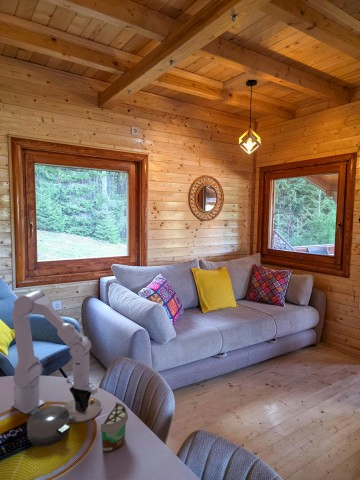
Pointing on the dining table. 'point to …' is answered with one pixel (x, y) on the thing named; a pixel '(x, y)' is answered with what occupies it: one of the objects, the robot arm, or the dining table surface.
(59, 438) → the cooker pot
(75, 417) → the cooker lid
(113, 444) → the food container
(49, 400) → the dining table surface
